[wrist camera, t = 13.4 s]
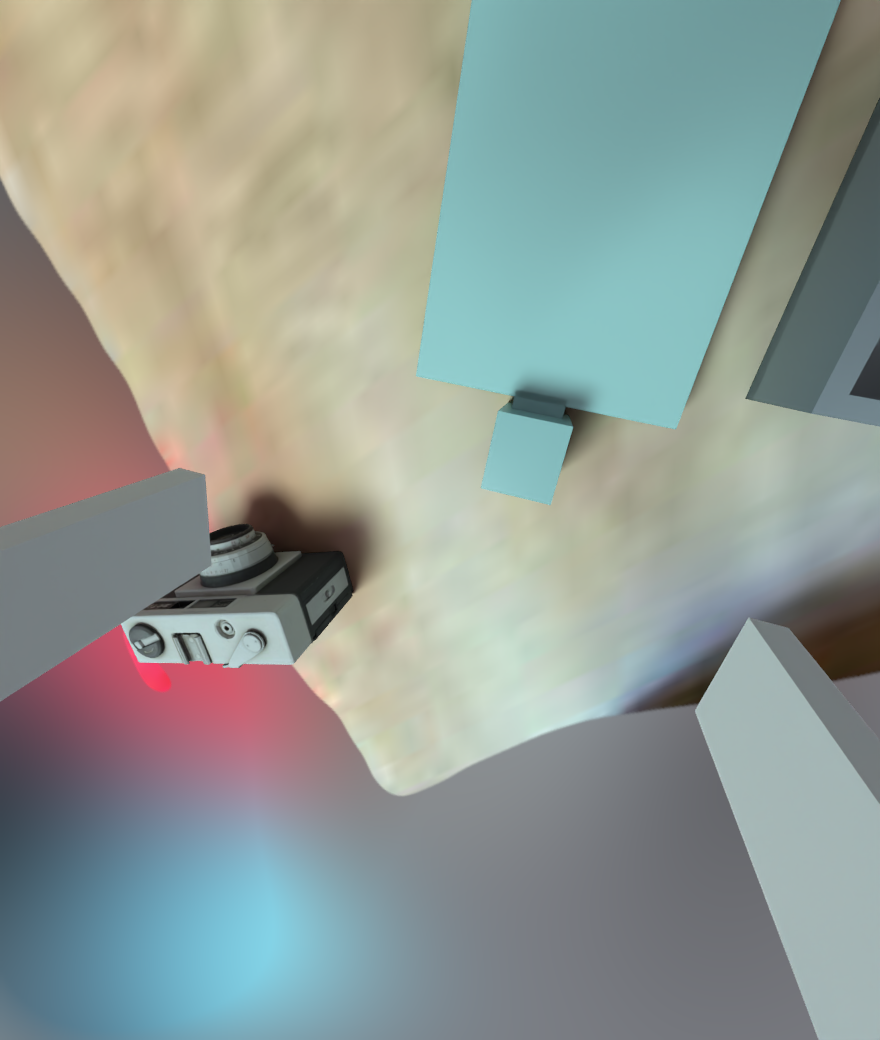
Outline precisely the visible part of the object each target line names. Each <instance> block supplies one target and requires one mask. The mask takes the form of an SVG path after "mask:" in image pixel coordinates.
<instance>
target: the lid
mask: <svg viewBox="0 0 880 1040" xmlns="http://www.w3.org/2000/svg"><path fill="white" fill-rule="evenodd" d="M840 1H841V0H472V3H471V10H470V17H469V24H468V30H467V37H466V44H465V50H464V57H463V64H462V71H461V77H460V84H459V91H458V98H457V104H456V111H455V118H454V124H453V131H452V138H451V145H450V151H449V158H448V165H447V172H446V178H445V185H444V192H443V198H442V205H441V212H440V219H439V225H438V232H437V239H436V246H435V252H434V259H433V266H432V272H431V279H430V286H429V293H428V299H427V306H426V313H425V319H424V326H423V333H422V340H421V346H420V353H419V360H418V367H417V373H416V376H418V377H423V378H428V379H432V380H437V381H442V382H447V383H452V384H457V385H462V386H467V387H471V388H476V389H481V390H486V391H491V392H496V393H501V394H506V395H511V396H514V400H513V404H512V403H507V404H506V405H505V406H503V407H502V408H501V409H500V410H499V411H498V414H497V419H496V423H495V428H494V432H493V436H492V441H491V445H490V450H489V454H488V459H487V463H486V468H485V472H484V477H483V481H482V486H481V488H482V489H486V490H491V491H495V492H499V493H503V494H507V495H511V496H515V497H519V498H524V499H528V500H532V501H536V502H540V503H544V504H548V505H551V501H552V498H553V494H554V491H555V488H556V484H557V481H558V477H559V474H560V471H561V467H562V464H563V460H564V457H565V454H566V450H567V447H568V443H569V440H570V437H571V433H572V430H573V425H572V422H571V420H570V418H569V415H565V414H564V411H565V407H569V408H574V409H579V410H584V411H589V412H593V413H598V414H603V415H608V416H613V417H618V418H623V419H628V420H632V421H637V422H642V423H647V424H652V425H657V426H662V427H667V428H672V429H676V428H677V425H678V423H679V420H680V417H681V415H682V412H683V410H684V407H685V404H686V402H687V399H688V397H689V394H690V391H691V389H692V386H693V384H694V381H695V378H696V376H697V373H698V371H699V368H700V365H701V363H702V360H703V358H704V355H705V352H706V350H707V347H708V345H709V342H710V339H711V337H712V334H713V332H714V329H715V326H716V324H717V321H718V319H719V316H720V313H721V311H722V308H723V306H724V303H725V300H726V298H727V295H728V293H729V290H730V287H731V285H732V282H733V280H734V277H735V274H736V272H737V269H738V267H739V264H740V261H741V259H742V256H743V253H744V251H745V248H746V246H747V243H748V240H749V238H750V235H751V233H752V230H753V227H754V225H755V222H756V220H757V217H758V214H759V212H760V209H761V207H762V204H763V201H764V199H765V196H766V194H767V191H768V188H769V186H770V183H771V181H772V178H773V175H774V173H775V170H776V168H777V165H778V162H779V160H780V157H781V155H782V152H783V149H784V147H785V144H786V142H787V139H788V136H789V134H790V131H791V129H792V126H793V123H794V121H795V118H796V116H797V113H798V110H799V108H800V105H801V103H802V100H803V97H804V95H805V92H806V90H807V87H808V84H809V82H810V79H811V77H812V74H813V71H814V69H815V66H816V63H817V61H818V58H819V56H820V53H821V50H822V48H823V45H824V43H825V40H826V37H827V35H828V32H829V30H830V27H831V24H832V22H833V19H834V17H835V14H836V11H837V9H838V6H839V4H840Z"/></svg>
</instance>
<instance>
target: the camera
mask: <svg viewBox="0 0 880 1040" xmlns="http://www.w3.org/2000/svg"><path fill="white" fill-rule="evenodd" d="M209 535H210V549H211V562H212V565H211V566H210V567H208V568H207V569H205V570H204V571H202V572H201V573H199V574H197V575H196V576H194V577H193V578H191V579H190V580H188V581H187V582H185V583H183V584H182V585H180V586H179V587H177V588H176V589H174V590H173V591H171V592H169V593H168V594H166V595H165V596H163V597H162V598H160V599H159V600H157V601H155V602H154V603H152V604H151V605H149V606H148V607H146V608H145V609H143V610H141V611H140V612H138V613H137V614H135V615H134V616H132V617H131V618H129V619H127V620H126V621H124V622H123V623H121V625H122V627H123V630H124V632H125V634H126V636H127V638H128V640H129V642H130V644H131V647H132V649H133V651H134V653H135V655H136V657H137V659H138V661H139V662H144V663H184V664H189V661H203V662H204V664H210V663H212V662H213V663H217V664H218V663H220V664H224V665H223V668H226V667H231V668H240V667H241V666H242V665H243V664H288V665H290V664H294V663H295V662H296V660H297V659H298V658H299V657H300V656H301V655H302V653H303V652H304V651H305V650H306V649H307V647H308V646H309V645H310V644H311V643H312V642H313V641H315V640H316V639H317V638H318V636H319V635H320V634H321V633H322V632H323V630H324V629H325V628H326V627H327V626H328V624H329V623H330V622H331V621H332V620H333V618H334V617H335V616H336V615H337V614H338V613H339V611H340V610H341V609H342V608H343V607H344V605H345V604H346V603H347V602H348V601H349V599H350V598H351V597H352V592H353V588H352V584H351V580H350V576H349V572H348V569H347V565H346V562H345V559H344V555H343V553H342V552H339V551H333V552H319V553H305V554H301V551H291V552H277V553H275V552H274V550H273V548H272V547H273V546H274V545H272V544H270V542H269V540H268V538H267V536H266V534H265V533H263V532H254V529H253V527H252V525H249V524H239V525H234V526H229V527H226V528H222V529H219V530H217V531H214V532H212V533H210V534H209Z"/></svg>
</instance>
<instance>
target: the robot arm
mask: <svg viewBox="0 0 880 1040" xmlns="http://www.w3.org/2000/svg"><path fill="white" fill-rule="evenodd" d="M211 565H212V562H211V549H210V535H209V522H208V508H207V495H206V481H205V475H204V474H200V473H197V472H193V471H189V470H185V469H181V468H178V469H175V470H172V471H169V472H166V473H163V474H160V475H157V476H154V477H151V478H148V479H145V480H142V481H139V482H136V483H133V484H130V485H127V486H124V487H121V488H118V489H115V490H112V491H109V492H105V493H102V494H100V495H96V496H93V497H91V498H87V499H84V500H81V501H78V502H76V503H72V504H69V505H66V506H63V507H60V508H57V509H54V510H51V511H48V512H45V513H42V514H39V515H36V516H33V517H30V518H27V519H24V520H21V521H18V522H15V523H11V524H8V525H5V526H2V527H0V701H1V700H3V699H4V698H6V697H8V696H9V695H11V694H12V693H14V692H15V691H17V690H18V689H20V688H22V687H23V686H25V685H26V684H28V683H29V682H31V681H33V680H34V679H36V678H37V677H39V676H40V675H42V674H43V673H45V672H46V671H48V670H50V669H51V668H53V667H54V666H56V665H57V664H59V663H60V662H62V661H64V660H65V659H67V658H68V657H70V656H71V655H73V654H75V653H76V652H78V651H79V650H81V649H82V648H84V647H85V646H87V645H89V644H90V643H92V642H93V641H95V640H96V639H98V638H99V637H101V636H102V635H104V634H106V633H107V632H109V631H110V630H112V629H113V628H115V627H117V626H118V625H120V624H121V623H123V622H124V621H126V620H127V619H129V618H131V617H132V616H134V615H135V614H137V613H138V612H140V611H141V610H143V609H145V608H146V607H148V606H149V605H151V604H152V603H154V602H155V601H157V600H159V599H160V598H162V597H163V596H165V595H166V594H168V593H169V592H171V591H173V590H174V589H176V588H177V587H179V586H180V585H182V584H183V583H185V582H187V581H188V580H190V579H191V578H193V577H194V576H196V575H197V574H199V573H201V572H202V571H204V570H205V569H207V568H208V567H210V566H211ZM695 712H696V715H697V717H698V721H699V723H700V726H701V728H702V731H703V734H704V737H705V739H706V742H707V744H708V747H709V750H710V752H711V755H712V758H713V760H714V763H715V766H716V768H717V771H718V774H719V776H720V779H721V782H722V784H723V787H724V789H725V792H726V795H727V798H728V800H729V803H730V806H731V808H732V811H733V813H734V816H735V819H736V821H737V824H738V826H739V829H740V832H741V835H742V837H743V840H744V842H745V845H746V848H747V851H748V853H749V856H750V859H751V861H752V864H753V867H754V869H755V872H756V875H757V877H758V880H759V882H760V885H761V888H762V890H763V893H764V896H765V898H766V901H767V903H768V906H769V909H770V912H771V914H772V917H773V919H774V922H775V925H776V928H777V930H778V933H779V936H780V938H781V941H782V944H783V946H784V949H785V952H786V954H787V957H788V959H789V962H790V965H791V967H792V970H793V973H794V975H795V978H796V980H797V983H798V986H799V988H800V991H801V994H802V997H803V999H804V1002H805V1005H806V1007H807V1010H808V1012H809V1015H810V1018H811V1021H812V1023H813V1026H814V1028H815V1031H816V1034H817V1036H818V1039H819V1040H880V740H879V738H878V737H877V736H876V735H875V734H874V732H873V731H872V730H871V729H870V727H869V726H868V725H867V724H866V723H865V721H864V720H863V719H862V718H861V717H860V715H859V714H858V713H857V712H856V710H855V709H854V708H853V707H852V705H851V704H850V703H849V702H848V700H847V699H846V698H845V697H844V696H843V694H842V693H841V692H840V691H839V689H838V688H837V687H836V686H835V685H834V683H833V682H832V681H831V680H830V678H829V677H828V676H827V675H826V673H825V672H824V671H823V670H822V669H821V667H820V666H819V665H818V664H817V662H816V661H815V660H814V659H813V658H812V656H811V655H810V654H809V653H808V651H807V650H806V649H805V648H804V647H803V645H802V644H801V643H800V642H799V640H798V639H797V638H796V637H795V635H794V634H793V633H792V632H791V631H790V629H789V628H786V627H782V626H779V625H775V624H771V623H767V622H763V621H760V620H756V619H752V618H748V620H747V621H746V623H745V625H744V627H743V628H742V630H741V632H740V634H739V635H738V637H737V639H736V641H735V642H734V644H733V646H732V647H731V649H730V651H729V653H728V654H727V656H726V658H725V660H724V661H723V663H722V665H721V667H720V668H719V670H718V672H717V673H716V675H715V677H714V679H713V680H712V682H711V684H710V686H709V687H708V689H707V691H706V693H705V694H704V696H703V698H702V699H701V701H700V703H699V705H698V706H697V708H696V710H695Z"/></svg>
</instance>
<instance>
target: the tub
mask: <svg viewBox="0 0 880 1040" xmlns="http://www.w3.org/2000/svg"><path fill="white" fill-rule="evenodd" d="M746 399H749V400H754V401H758V402H763V403H767V404H772V405H776V406H781V407H785V408H790V409H794V410H798V411H803V412H807V413H812V414H817V415H822V416H828V417H833V418H838V419H843V420H849V421H854V422H859V423H864V424H870V425H875V426H880V98H879V100H878V103H877V105H876V107H875V109H874V112H873V114H872V116H871V118H870V121H869V123H868V125H867V127H866V130H865V132H864V134H863V136H862V139H861V141H860V143H859V145H858V148H857V150H856V152H855V154H854V157H853V159H852V161H851V163H850V165H849V168H848V170H847V172H846V174H845V177H844V179H843V181H842V183H841V186H840V188H839V190H838V192H837V195H836V197H835V199H834V201H833V204H832V206H831V208H830V210H829V213H828V215H827V217H826V219H825V222H824V224H823V226H822V228H821V230H820V233H819V235H818V237H817V239H816V242H815V244H814V246H813V248H812V251H811V253H810V255H809V257H808V260H807V262H806V264H805V266H804V269H803V271H802V273H801V275H800V278H799V280H798V282H797V284H796V287H795V289H794V291H793V293H792V296H791V298H790V300H789V302H788V304H787V307H786V309H785V311H784V313H783V316H782V318H781V320H780V322H779V325H778V327H777V329H776V331H775V334H774V336H773V338H772V340H771V343H770V345H769V347H768V349H767V352H766V354H765V356H764V358H763V361H762V363H761V365H760V367H759V369H758V372H757V374H756V376H755V378H754V381H753V383H752V385H751V387H750V390H749V392H748V394H747V396H746Z"/></svg>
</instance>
